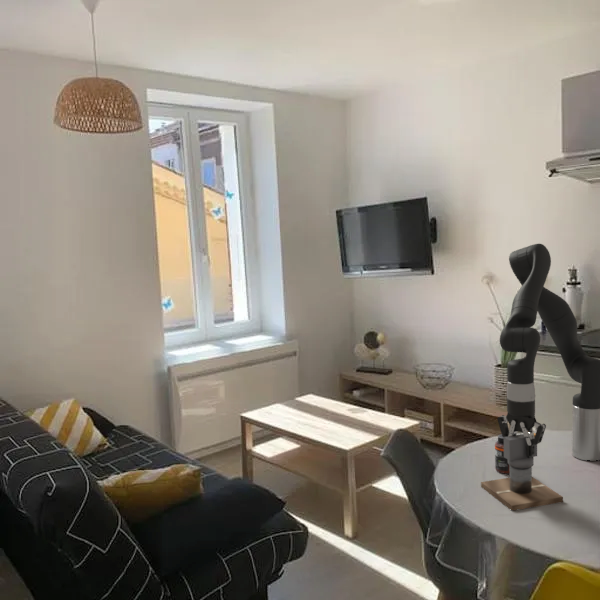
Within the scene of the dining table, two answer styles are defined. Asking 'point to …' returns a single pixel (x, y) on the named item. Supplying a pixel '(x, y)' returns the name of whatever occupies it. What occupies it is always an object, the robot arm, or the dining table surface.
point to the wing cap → (518, 451)
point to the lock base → (521, 498)
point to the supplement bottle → (501, 456)
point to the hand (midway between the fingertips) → (521, 454)
